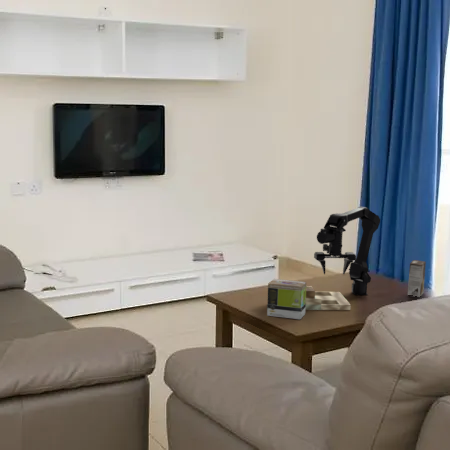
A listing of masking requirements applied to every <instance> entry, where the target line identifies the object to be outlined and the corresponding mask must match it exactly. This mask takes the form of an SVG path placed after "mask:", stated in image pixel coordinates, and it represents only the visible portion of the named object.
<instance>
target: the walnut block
mask: <svg viewBox="0 0 450 450" xmlns="http://www.w3.org/2000/svg"><path fill="white" fill-rule="evenodd" d="M315 292H316V290H315V289H314V288H313V287H312V288H306V299H315Z"/></svg>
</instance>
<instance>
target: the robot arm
mask: <svg viewBox="0 0 450 450" xmlns="http://www.w3.org/2000/svg"><path fill="white" fill-rule="evenodd" d="M357 219H359V220H360V221H361V225H360V226H361V228H362V234H361V238H360V241H359V242H360V243H359V246H358V251H357V253H356V254H355V253H354V252H353V251H347V252H344V253H342V252H343V251H342V247H343V232H344V233H345V232H346V229H345V227H346V226H348V223H349V222H352V221H354V220H357ZM380 223H381V218H380V216H379V215H378V214H376V213H374V212H373V211H371V210H370V209H369V208H368V207H366V206H358V207H357V208H356V207H355V208H354V209H350V210H349V211H346V212H342V213H331V214H330V215H329V217H328V218H327V221H326V222H325V224H324V226H323V228H320V231H319V232H317V235H316V240H317V242H318V243H319V244H320V245H322V251H315V252H314V254H313V258H314V259H315V260H316V261H318V262H319V264H320V265H321V268H322V269H321V270H322V273H323V275H326V260H325V259H343V270H342V274H343V275H346V272H347V270H348V275H349V278H350V281H352V283H351V293H352V294H353V296H354V295H355V296H368V284H369V283H370V282H371V279H372V278H371V276H370V274H369V273H368V271H369V267H368V264H367V261H368V260H367V259H368V256H369V252H370V249H371V245H372V240H373V236H374V233H376V231H377V230H378V229H379V226H380ZM324 252H326V253H324ZM348 268H349V269H348Z"/></svg>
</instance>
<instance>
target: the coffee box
mask: <svg viewBox="0 0 450 450" xmlns="http://www.w3.org/2000/svg"><path fill="white" fill-rule="evenodd" d="M426 264H427V262H426V261H423V260H417V259H416V260H415V259H413V260H411V262H409V270H408V285H407V296H408V295H413V296H412V297H415V296H417V298H421V297H420V296H423V294H424V292H425V289H424V288H425V276H426Z"/></svg>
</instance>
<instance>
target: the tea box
mask: <svg viewBox="0 0 450 450" xmlns="http://www.w3.org/2000/svg"><path fill="white" fill-rule="evenodd" d="M306 286H307V281H303V280H302V281H301V280H289V279H279V278H273V279H272V280H271V281H270V282H269V283H268V284H267V304H266V305H267V307H266V315H267V316H269V317H270V316H271V317H275V318H276V317H277V318H283V319H292V320H293V319H294V320H302V318H303V317H304V316H305V315H306V310H305V308H306Z"/></svg>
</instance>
